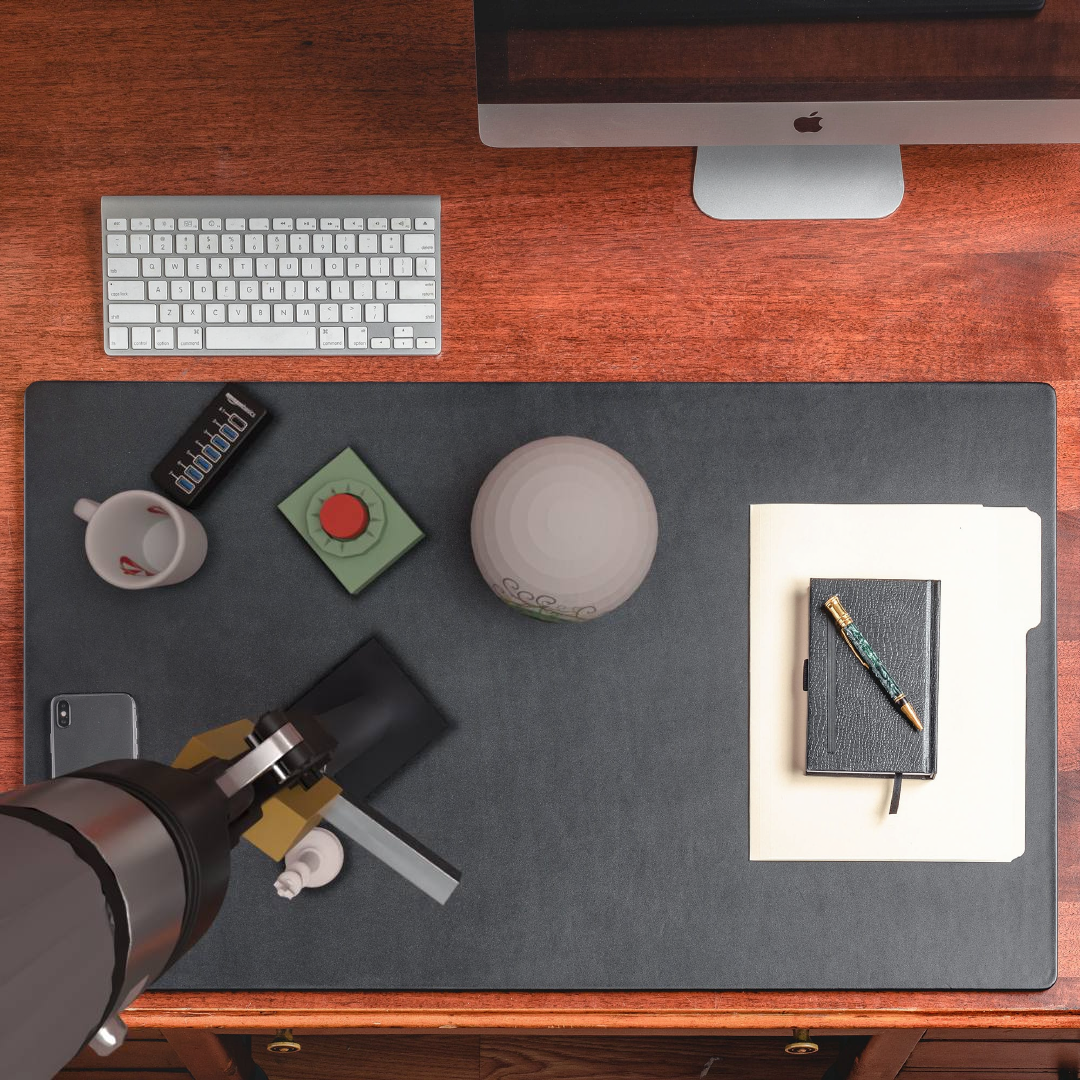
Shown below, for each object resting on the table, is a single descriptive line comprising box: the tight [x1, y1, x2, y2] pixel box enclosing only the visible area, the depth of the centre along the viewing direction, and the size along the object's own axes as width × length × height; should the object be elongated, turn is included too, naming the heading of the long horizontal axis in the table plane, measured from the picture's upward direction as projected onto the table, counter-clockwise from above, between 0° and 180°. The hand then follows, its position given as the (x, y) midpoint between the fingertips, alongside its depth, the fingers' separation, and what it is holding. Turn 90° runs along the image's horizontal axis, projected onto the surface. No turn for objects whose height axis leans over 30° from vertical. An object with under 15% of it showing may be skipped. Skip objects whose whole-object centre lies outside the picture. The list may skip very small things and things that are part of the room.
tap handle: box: [170, 717, 463, 906], centre depth 48 cm, size 16×2×10 cm, turn 55°
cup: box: [73, 489, 209, 590], centre depth 74 cm, size 11×8×8 cm
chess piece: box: [273, 826, 344, 900], centre depth 71 cm, size 5×5×10 cm
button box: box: [277, 446, 426, 595], centre depth 76 cm, size 10×8×4 cm
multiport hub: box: [149, 381, 275, 509], centre depth 78 cm, size 4×11×2 cm, turn 141°
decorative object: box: [470, 435, 659, 625], centre depth 71 cm, size 15×15×15 cm
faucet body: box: [285, 636, 450, 801], centre depth 65 cm, size 10×10×24 cm
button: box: [320, 494, 367, 539], centre depth 74 cm, size 4×4×2 cm
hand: (285, 768), depth 51 cm, fingers closed on tap handle, 3 cm apart
